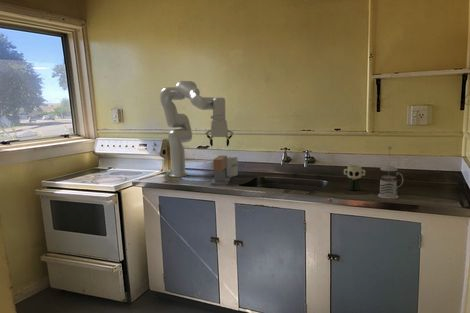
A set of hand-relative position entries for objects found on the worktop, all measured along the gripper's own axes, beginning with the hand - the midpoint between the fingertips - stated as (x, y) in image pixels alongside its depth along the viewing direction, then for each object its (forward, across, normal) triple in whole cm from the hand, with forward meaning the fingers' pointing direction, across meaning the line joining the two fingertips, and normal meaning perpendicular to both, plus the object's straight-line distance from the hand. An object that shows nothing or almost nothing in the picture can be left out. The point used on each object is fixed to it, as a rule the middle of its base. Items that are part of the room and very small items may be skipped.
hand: (219, 146), depth 233 cm
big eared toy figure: (+21, +76, -26) cm, 83 cm away
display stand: (+22, +1, 0) cm, 22 cm away
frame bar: (+14, 0, 0) cm, 14 cm away
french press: (+20, +90, -42) cm, 101 cm away
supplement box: (+23, +5, +18) cm, 30 cm away
